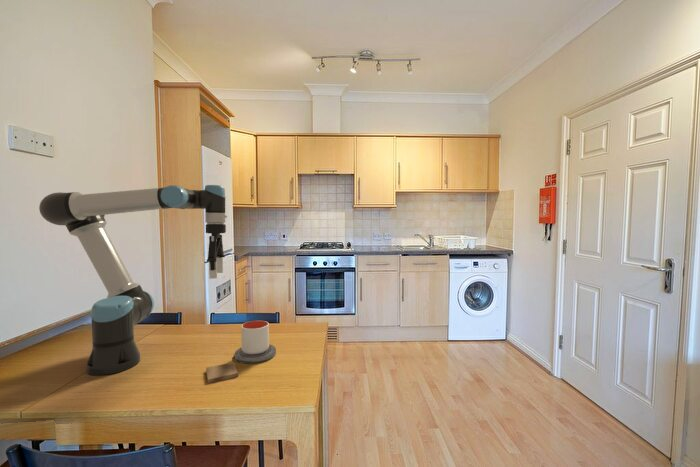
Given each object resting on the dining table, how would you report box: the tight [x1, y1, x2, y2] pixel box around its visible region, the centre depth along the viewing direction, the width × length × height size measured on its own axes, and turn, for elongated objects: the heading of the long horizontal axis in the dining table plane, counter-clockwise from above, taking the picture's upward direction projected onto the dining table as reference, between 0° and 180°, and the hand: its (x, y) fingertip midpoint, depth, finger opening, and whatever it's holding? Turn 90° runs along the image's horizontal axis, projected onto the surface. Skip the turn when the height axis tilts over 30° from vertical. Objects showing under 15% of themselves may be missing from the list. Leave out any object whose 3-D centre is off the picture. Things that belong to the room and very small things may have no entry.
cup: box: [240, 320, 270, 355], centre depth 120 cm, size 10×10×10 cm
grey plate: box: [234, 343, 277, 365], centre depth 120 cm, size 15×15×2 cm
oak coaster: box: [205, 362, 239, 384], centre depth 105 cm, size 9×9×1 cm
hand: (216, 275), depth 129 cm, fingers open, 13 cm apart
